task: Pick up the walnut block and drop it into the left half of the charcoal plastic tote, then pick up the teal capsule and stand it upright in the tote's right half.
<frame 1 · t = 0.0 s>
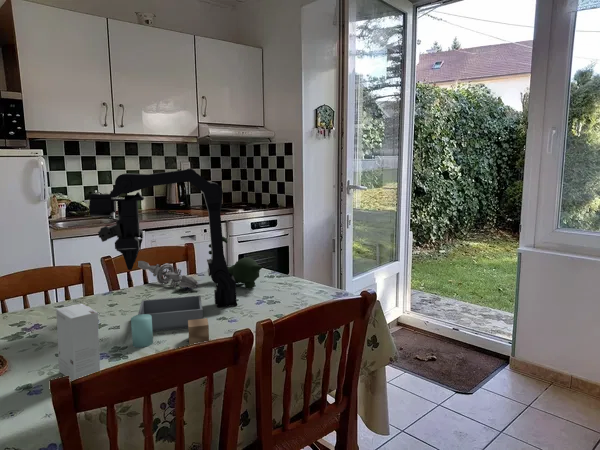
hand: (131, 266, 132), 15 cm above the table, fingers open, 9 cm apart
skincare box: (80, 374, 96), on the table
teal capsule: (142, 343, 111), on the table
walnut block: (198, 340, 113), on the table
tote: (172, 321, 126), on the table
spaceship: (165, 284, 165), on the table
toy figurine: (236, 286, 162), on the table
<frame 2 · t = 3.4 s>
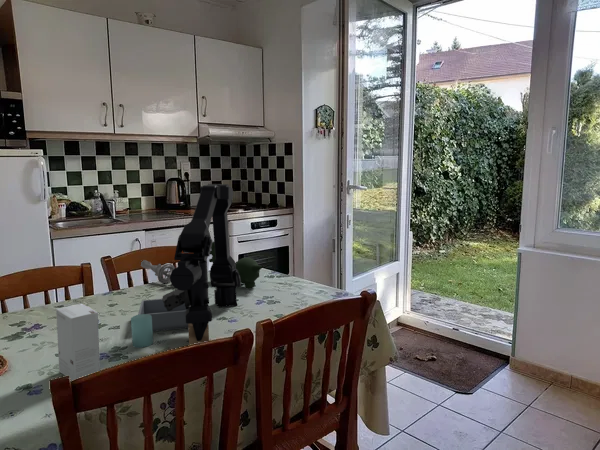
hand: (198, 336, 113), 1 cm above the table, fingers closed on walnut block, 5 cm apart
walnut block: (198, 340, 113), on the table, touching gripper
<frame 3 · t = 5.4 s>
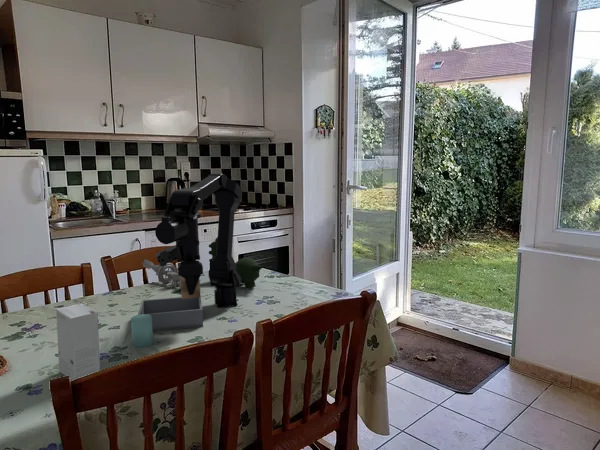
hand: (190, 291, 120), 11 cm above the table, fingers closed on walnut block, 5 cm apart
walnut block: (190, 295, 120), point 10 cm above the table, touching gripper
when the fingers open (3 cm above the table, at t = 7.7 s): walnut block drops 2 cm, resting on tote.
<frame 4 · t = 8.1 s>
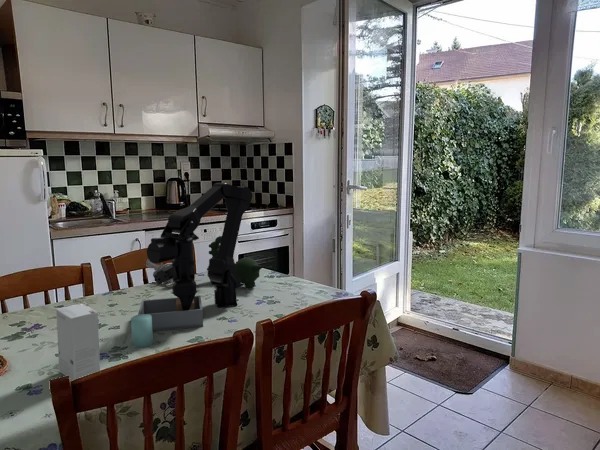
hand: (185, 308, 127), 3 cm above the table, fingers open, 9 cm apart
walnut block: (185, 317, 127), point 1 cm above the table, touching tote
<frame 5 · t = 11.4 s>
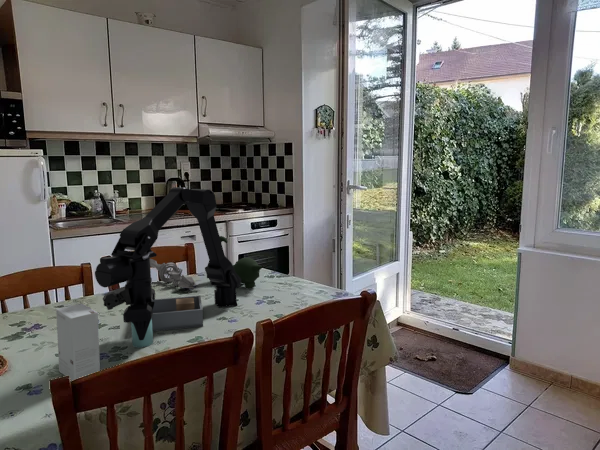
hand: (142, 335, 111), 2 cm above the table, fingers closed on teal capsule, 5 cm apart
teal capsule: (142, 343, 111), on the table, touching gripper
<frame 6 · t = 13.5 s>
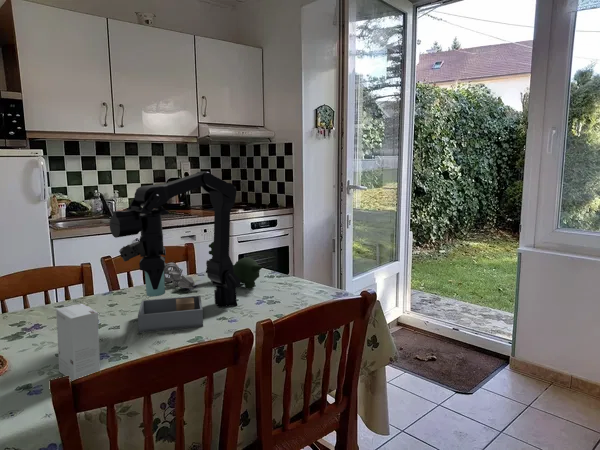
hand: (155, 286, 121), 12 cm above the table, fingers closed on teal capsule, 5 cm apart
teal capsule: (155, 293, 121), point 10 cm above the table, touching gripper
when the fingers open (4 cm above the table, at t = 15.5 s): teal capsule drops 2 cm, resting on tote.
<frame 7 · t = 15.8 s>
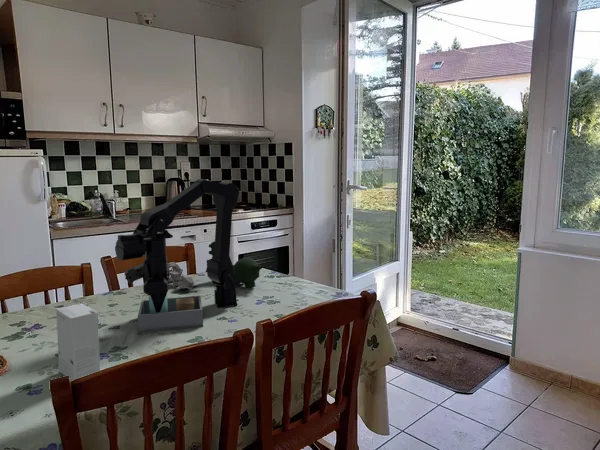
hand: (158, 307, 125), 4 cm above the table, fingers open, 8 cm apart
teal capsule: (159, 319, 125), point 1 cm above the table, touching tote
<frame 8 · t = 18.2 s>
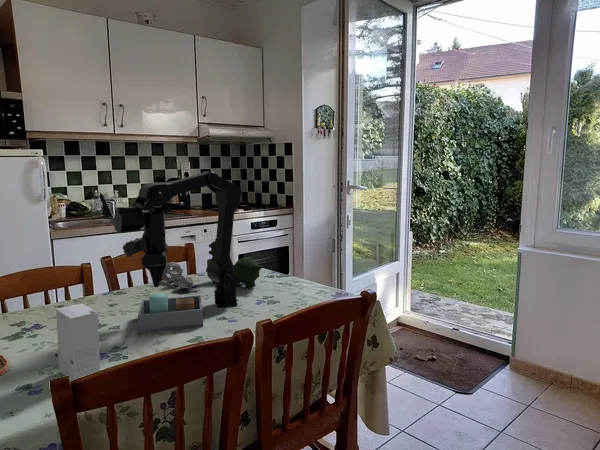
hand: (157, 282, 124), 12 cm above the table, fingers open, 9 cm apart
at the end: walnut block inside the target area on the tote (4.0 cm from its centre), point 0.8 cm above the tote's base; teal capsule inside the target area on the tote (3.5 cm from its centre), point 0.9 cm above the tote's base; teal capsule tilted 1° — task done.
